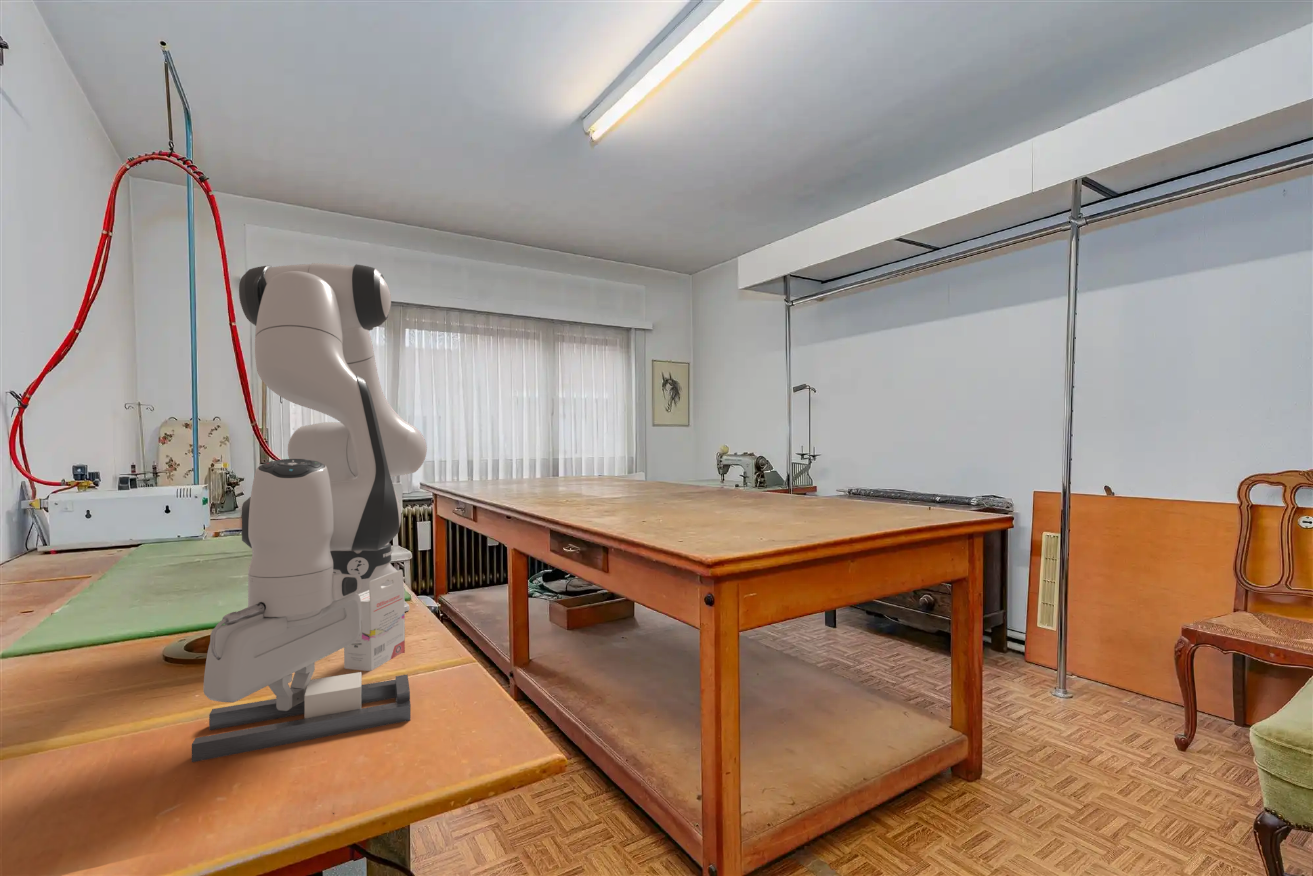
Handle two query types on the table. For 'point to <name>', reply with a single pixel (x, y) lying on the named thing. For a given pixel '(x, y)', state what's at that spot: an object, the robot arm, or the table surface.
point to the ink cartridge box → (379, 625)
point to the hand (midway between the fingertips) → (291, 705)
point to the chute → (300, 721)
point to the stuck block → (333, 695)
